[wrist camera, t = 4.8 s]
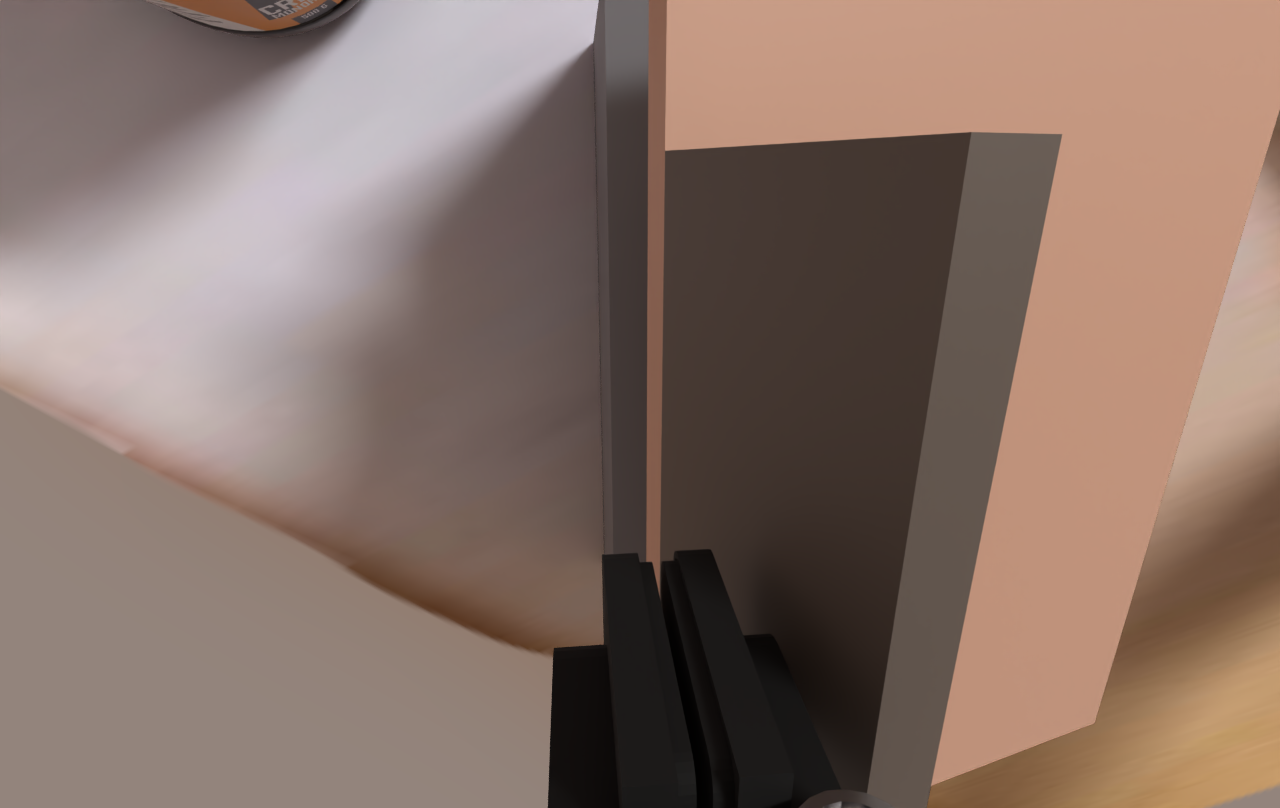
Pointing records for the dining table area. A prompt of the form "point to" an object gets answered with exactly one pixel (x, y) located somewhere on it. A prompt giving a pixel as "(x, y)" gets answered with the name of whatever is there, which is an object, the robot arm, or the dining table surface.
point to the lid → (937, 337)
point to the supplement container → (259, 15)
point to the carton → (623, 265)
